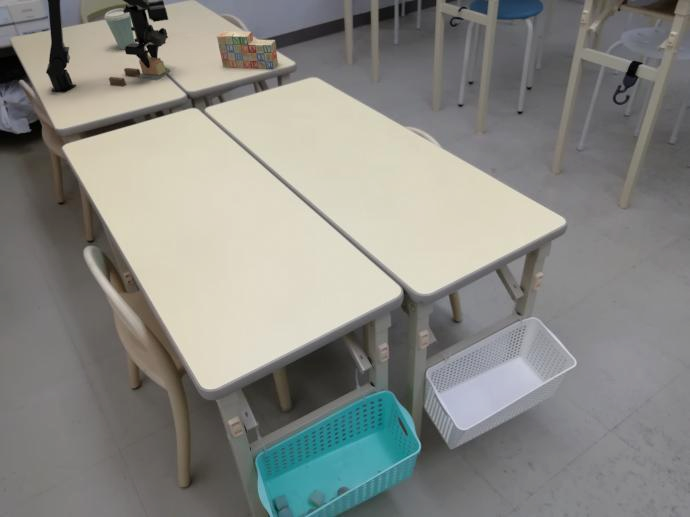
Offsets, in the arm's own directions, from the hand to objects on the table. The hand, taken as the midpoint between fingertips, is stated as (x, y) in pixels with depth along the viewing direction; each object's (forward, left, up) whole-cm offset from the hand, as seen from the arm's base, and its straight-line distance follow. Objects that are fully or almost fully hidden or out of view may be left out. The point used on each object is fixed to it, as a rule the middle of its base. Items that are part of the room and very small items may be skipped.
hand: (152, 65), depth 207 cm
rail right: (-3, +8, -4) cm, 9 cm away
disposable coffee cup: (+26, +32, -4) cm, 41 cm away
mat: (0, 0, -4) cm, 4 cm away
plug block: (0, 0, -3) cm, 3 cm away
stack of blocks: (+17, -34, -4) cm, 38 cm away
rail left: (-12, +8, -4) cm, 15 cm away
